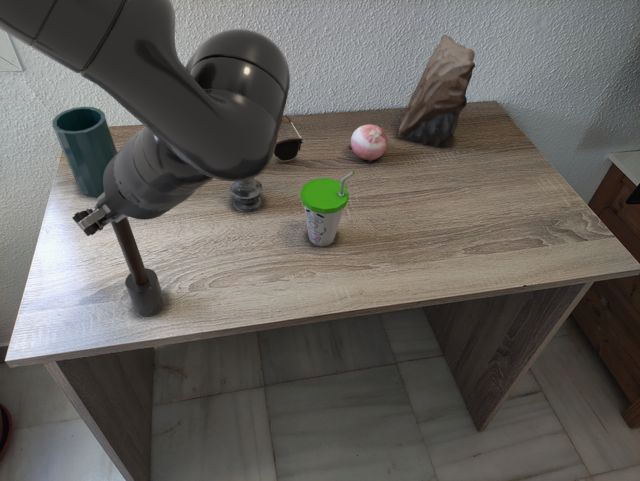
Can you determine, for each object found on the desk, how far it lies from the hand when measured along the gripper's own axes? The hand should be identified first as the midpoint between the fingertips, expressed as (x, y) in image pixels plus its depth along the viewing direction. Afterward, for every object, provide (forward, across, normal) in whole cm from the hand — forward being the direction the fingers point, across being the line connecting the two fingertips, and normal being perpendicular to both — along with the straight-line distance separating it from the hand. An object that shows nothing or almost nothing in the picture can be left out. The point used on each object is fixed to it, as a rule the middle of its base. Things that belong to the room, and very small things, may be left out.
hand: (107, 213), depth 59 cm
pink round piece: (+6, -54, +19) cm, 57 cm away
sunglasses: (+21, -44, +5) cm, 49 cm away
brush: (+11, 0, +14) cm, 18 cm away
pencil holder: (+32, -14, -6) cm, 35 cm away
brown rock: (+2, -69, +23) cm, 73 cm away
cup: (+2, -27, +24) cm, 36 cm away
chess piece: (+14, -27, +12) cm, 32 cm away
